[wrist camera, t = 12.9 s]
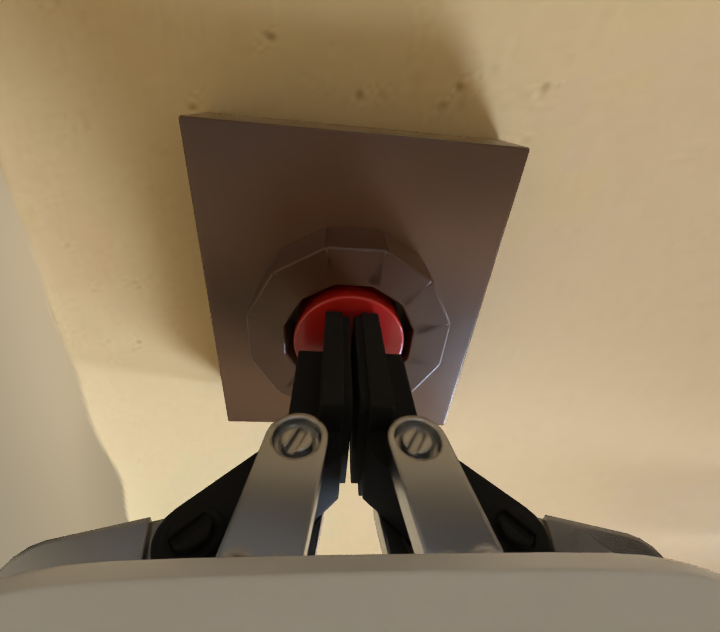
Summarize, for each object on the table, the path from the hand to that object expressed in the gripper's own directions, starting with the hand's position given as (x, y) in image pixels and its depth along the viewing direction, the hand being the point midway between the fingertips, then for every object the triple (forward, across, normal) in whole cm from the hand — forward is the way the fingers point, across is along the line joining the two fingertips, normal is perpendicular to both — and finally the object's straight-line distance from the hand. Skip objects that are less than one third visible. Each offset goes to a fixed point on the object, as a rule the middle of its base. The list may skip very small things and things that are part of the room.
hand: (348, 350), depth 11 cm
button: (+2, 0, 0) cm, 2 cm away
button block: (+4, 0, 0) cm, 4 cm away
